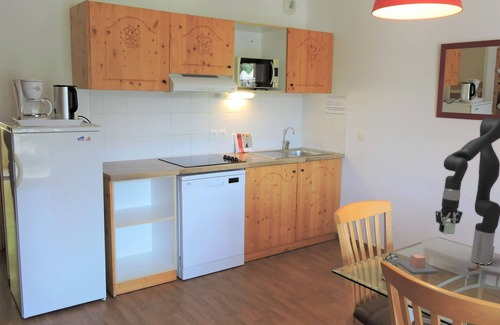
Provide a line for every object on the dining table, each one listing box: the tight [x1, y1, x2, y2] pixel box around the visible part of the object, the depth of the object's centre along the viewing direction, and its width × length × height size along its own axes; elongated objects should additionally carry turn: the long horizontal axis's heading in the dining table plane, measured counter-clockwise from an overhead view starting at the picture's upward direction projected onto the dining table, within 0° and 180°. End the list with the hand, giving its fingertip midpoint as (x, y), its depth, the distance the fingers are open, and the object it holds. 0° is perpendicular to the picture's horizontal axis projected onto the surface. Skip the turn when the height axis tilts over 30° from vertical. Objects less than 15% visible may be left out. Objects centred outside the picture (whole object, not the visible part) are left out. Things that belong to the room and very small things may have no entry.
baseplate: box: [398, 259, 439, 275], centre depth 217 cm, size 14×14×1 cm
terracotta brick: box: [409, 253, 426, 268], centre depth 217 cm, size 5×5×5 cm
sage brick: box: [438, 220, 457, 235], centre depth 213 cm, size 5×5×5 cm
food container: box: [381, 251, 401, 277], centre depth 203 cm, size 12×6×10 cm, turn 148°
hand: (446, 231), depth 214 cm, fingers closed on sage brick, 5 cm apart
